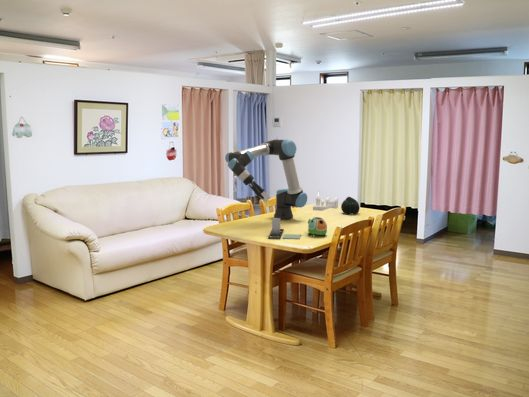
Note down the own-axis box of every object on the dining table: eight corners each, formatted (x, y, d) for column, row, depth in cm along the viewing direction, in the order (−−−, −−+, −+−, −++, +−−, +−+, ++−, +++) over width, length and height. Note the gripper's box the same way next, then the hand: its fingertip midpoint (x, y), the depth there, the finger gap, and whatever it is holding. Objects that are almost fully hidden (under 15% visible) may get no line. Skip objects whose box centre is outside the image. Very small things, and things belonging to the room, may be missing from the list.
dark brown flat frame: (272, 230, 344) (272, 228, 344) (283, 230, 343) (283, 229, 343) (268, 238, 319) (268, 237, 319) (280, 239, 318) (280, 237, 318)
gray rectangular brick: (272, 235, 329) (272, 219, 327) (272, 233, 334) (273, 217, 332) (279, 235, 328) (279, 219, 327) (280, 234, 333) (280, 218, 331)
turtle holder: (317, 231, 343) (317, 214, 341) (330, 236, 326) (331, 219, 324) (301, 232, 338) (301, 215, 336) (314, 238, 321) (314, 220, 319)
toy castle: (311, 210, 426) (312, 191, 424) (324, 206, 447) (325, 188, 445) (326, 211, 418) (327, 193, 416) (339, 207, 439) (339, 189, 437)
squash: (359, 209, 398) (359, 194, 406) (341, 209, 400) (341, 194, 408) (359, 218, 409) (359, 203, 417) (341, 218, 412) (341, 203, 420)
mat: (283, 238, 319) (283, 237, 319) (284, 234, 330) (284, 234, 330) (299, 239, 318) (299, 238, 318) (300, 235, 329) (300, 234, 329)
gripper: (245, 179, 343) (266, 201, 344) (239, 183, 319) (261, 207, 319) (252, 172, 342) (273, 194, 343) (247, 175, 318) (270, 199, 318)
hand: (268, 200), depth 331 cm, fingers open, 13 cm apart
